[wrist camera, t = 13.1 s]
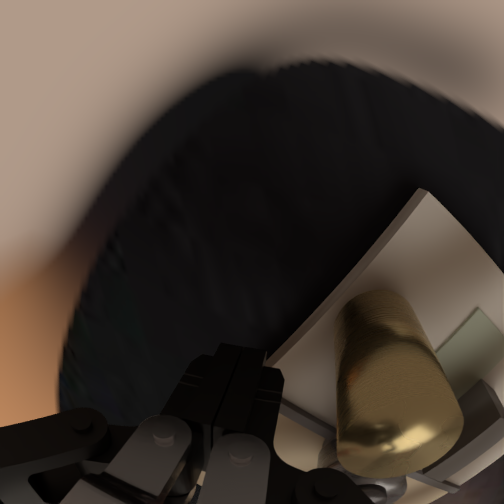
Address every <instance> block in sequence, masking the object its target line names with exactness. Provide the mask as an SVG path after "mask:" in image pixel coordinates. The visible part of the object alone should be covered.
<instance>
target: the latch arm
mask: <svg viewBox="0 0 504 504" xmlns="http://www.w3.org/2000/svg"><path fill="white" fill-rule="evenodd" d="M333 333H334V351H335V375H336V416H337V438H335V439H333V440H331V441H330V442H328V443H327V444H326V445H325V446H324V447H323V448H322V449H321V450H320V452H319V454H318V461H317V468H323V467H324V468H333V469H336V470H339V471H341V472H343V473H345V474H346V475H347V476H348V477H349V478H350V479H351V480H352V481H353V482H354V483H355V484H356V485H357V486H358V487H359V488H360V489H361V490H362V491H363V492H364V493H365V494H366V495H367V496H368V497H369V498H370V499H371V500H372V501H373V502H374V503H375V504H392V503H394V502H396V501H397V500H398V499H400V498H401V497H402V496H403V495H404V494H405V492H406V490H407V480H406V475H407V474H410V473H413V472H416V471H418V470H421V469H423V468H425V467H427V466H429V465H430V464H432V463H434V462H435V461H437V460H438V459H440V458H441V457H442V456H443V455H445V454H446V453H447V452H448V451H449V450H450V449H451V448H452V447H453V445H454V444H455V443H456V441H457V440H458V438H459V436H460V435H461V432H462V429H463V424H464V418H463V414H462V411H461V409H460V407H459V404H458V402H457V399H456V397H455V395H454V392H453V390H452V388H451V386H450V383H449V381H448V379H447V377H446V375H445V372H444V370H443V368H442V366H441V364H440V362H439V359H438V357H437V355H436V353H435V351H434V349H433V347H432V345H431V343H430V341H429V339H428V337H427V335H426V333H425V331H424V329H423V327H422V325H421V323H420V321H419V319H418V317H417V316H416V314H415V312H414V310H413V308H412V306H411V305H410V303H409V302H408V301H407V300H406V299H405V298H404V297H403V296H401V295H399V294H398V293H395V292H393V291H389V290H371V291H367V292H364V293H362V294H359V295H357V296H355V297H354V298H352V299H351V300H350V301H349V302H347V303H346V304H345V305H344V306H343V307H342V309H341V310H340V312H339V313H338V315H337V317H336V320H335V323H334V330H333Z"/></svg>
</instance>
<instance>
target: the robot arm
mask: <svg viewBox="0 0 504 504" xmlns="http://www.w3.org/2000/svg"><path fill="white" fill-rule="evenodd" d="M266 356H267V351H264V350H258V349H253V348H247V347H244V348H243V347H241V346H235V345H230V344H225V343H221V344H220V345H219V347H218V349H217V351H216V353H215V355H214V357H213V356H208V355H204V354H202V355H201V356H199V357H198V358H196V359H195V360H193V361H192V362H191V363H190V365H189V366H188V368H187V370H186V371H185V374H184V375H183V376H182V378H181V380H180V383H178V385H177V386H176V388H175V390H174V392H173V393H172V395H171V397H170V398H169V400H168V402H167V403H166V405H165V407H164V408H163V410H162V412H161V413H160V415H156V416H152V417H149V418H148V419H146V420H144V421H143V422H142V423H141V424H140V425H139V426H136V427H128V426H117V425H108V423H107V421H106V418H105V417H104V416H103V415H102V414H101V413H100V412H98V411H97V410H94V409H91V408H76V409H72V410H69V411H65V412H61V413H58V414H54V415H51V416H47V417H43V418H39V419H35V420H30V421H26V422H22V423H18V424H13V425H9V426H4V427H0V504H189V502H190V500H191V498H192V497H193V495H194V493H195V490H196V484H197V481H198V479H199V476H200V474H201V471H204V472H206V473H205V477H204V480H203V484H202V487H201V491H200V494H199V498H198V502H197V504H375V503H374V502H373V501H372V500H371V499H370V498H369V497H368V496H367V495H366V494H365V493H364V492H363V491H362V490H361V489H360V488H359V487H358V486H357V485H356V484H355V483H354V482H353V481H352V480H351V479H350V478H349V477H348V476H347V475H346V474H345V473H343V472H341V471H339V470H336V469H333V468H324V467H323V468H316V469H312V470H310V471H308V472H305V471H303V470H300V469H298V468H295V467H293V466H291V465H289V464H287V463H286V462H284V461H283V460H282V459H281V458H280V457H279V456H278V455H277V453H276V451H275V449H274V436H275V431H276V426H277V420H278V415H279V410H280V404H281V399H282V393H283V388H284V382H285V379H284V377H283V374H282V372H281V370H280V369H279V368H273V367H267V366H265V364H266Z"/></svg>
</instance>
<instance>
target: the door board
mask: <svg viewBox="0 0 504 504" xmlns="http://www.w3.org/2000/svg"><path fill="white" fill-rule="evenodd" d="M371 290H389V291H393V292H395V293H398V294H399V295H401V296H403V297H404V298H405V299H406V300H407V301H408V302H409V303H410V305H411V306H412V308H413V310H414V312H415V314H416V316H417V317H418V319H419V321H420V323H421V325H422V327H423V329H424V331H425V333H426V335H427V337H428V339H429V341H430V343H431V345H432V347H433V349H434V351H435V353H436V355H437V357H438V359H439V362H440V364H441V366H442V368H443V370H444V372H445V375H446V377H447V379H448V381H449V383H450V386H451V388H452V390H453V392H454V395H455V397H456V399H457V402H458V404H459V407H460V409H461V411H462V414H463V418H464V424H463V429H462V432H461V435H460V436H459V438H458V440H457V441H456V443H455V444H454V445H453V447H452V448H451V449H450V450H449V451H448V452H447V453H446V454H445V455H443V456H442V457H441V458H440V459H438V460H437V461H435V462H434V463H432V464H430V465H429V466H427V467H425V468H423V469H421V470H418V471H416V472H413V473H410V474H407V475H406V480H407V490H406V492H405V494H404V495H403V496H402V497H401V498H400V499H398V500H397V501H396V502H394V503H392V504H429V503H431V502H432V501H434V500H436V499H438V498H440V497H441V496H443V495H445V494H446V493H448V492H450V493H453V494H454V493H456V492H457V491H459V490H460V487H459V485H461V484H463V483H464V482H466V481H467V480H469V479H470V478H472V477H473V476H475V475H476V474H478V473H479V472H480V471H482V470H483V469H485V468H486V467H487V466H489V465H490V464H492V463H493V462H494V461H496V460H497V459H498V458H499V457H501V456H502V455H503V454H504V274H503V273H502V271H501V270H500V269H499V268H498V266H497V265H496V264H495V263H494V262H493V260H492V259H491V258H490V257H489V256H488V254H487V253H486V252H485V251H484V250H483V249H482V247H481V246H480V245H479V244H478V243H477V242H476V241H475V239H474V238H473V237H472V236H471V235H470V234H469V233H468V232H467V231H466V229H465V228H464V227H463V226H462V225H461V224H460V223H459V222H458V221H457V220H456V219H455V218H454V217H453V216H452V215H451V214H450V213H449V212H448V210H447V209H446V208H445V207H444V206H443V205H442V204H441V203H440V202H439V201H438V200H437V199H436V198H435V197H434V196H432V195H431V194H430V193H429V192H428V191H426V190H423V189H421V188H418V189H417V191H416V192H415V193H414V195H413V196H412V197H411V198H410V200H409V201H408V202H407V204H406V205H405V206H404V207H403V209H402V210H401V211H400V212H399V214H398V215H397V216H396V217H395V219H394V220H393V221H392V222H391V224H390V225H389V226H388V227H387V229H386V230H385V231H384V232H383V233H382V235H381V236H380V237H379V238H378V240H377V241H376V242H375V243H374V244H373V246H372V247H371V248H370V249H369V250H368V251H367V253H366V254H365V255H364V256H363V257H362V259H361V260H360V261H359V262H358V263H357V264H356V266H355V267H354V268H353V269H352V270H351V271H350V272H349V274H348V275H347V276H346V277H345V278H344V279H343V280H342V281H341V283H340V284H339V285H338V286H337V287H336V288H335V289H334V290H333V292H332V293H331V294H330V295H329V296H328V297H327V298H326V299H325V300H324V301H323V303H322V304H321V305H320V306H319V307H318V308H317V309H316V310H315V311H314V312H313V313H312V314H311V315H310V317H309V318H308V319H307V320H306V321H305V322H304V323H303V324H302V325H301V326H300V327H299V328H298V329H297V330H296V331H295V332H294V333H293V334H292V335H291V336H290V337H289V338H288V340H287V341H286V342H285V343H284V344H283V345H282V346H281V347H280V348H279V349H278V350H277V351H276V352H275V353H274V354H273V355H272V356H271V357H270V358H269V359H268V360H267V361H266V364H265V366H267V367H273V368H279V369H280V370H281V372H282V374H283V377H284V379H285V382H284V388H283V393H282V399H281V404H280V410H279V415H278V420H277V426H276V431H275V436H274V449H275V451H276V453H277V455H278V456H279V457H280V458H281V459H282V460H283V461H284V462H286V463H287V464H289V465H291V466H293V467H295V468H298V469H300V470H303V471H305V472H308V471H310V470H312V469H316V468H317V461H318V454H319V452H320V450H321V449H322V448H323V447H324V446H325V445H326V444H327V443H328V442H330V441H331V440H333V439H335V438H337V416H336V375H335V351H334V333H333V330H334V323H335V320H336V317H337V315H338V313H339V312H340V310H341V309H342V307H343V306H344V305H345V304H346V303H347V302H349V301H350V300H351V299H352V298H354V297H355V296H357V295H359V294H362V293H364V292H367V291H371ZM205 473H206V472H204V471H201V474H200V476H199V479H198V481H197V484H199V485H201V486H202V484H203V480H204V477H205Z"/></svg>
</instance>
